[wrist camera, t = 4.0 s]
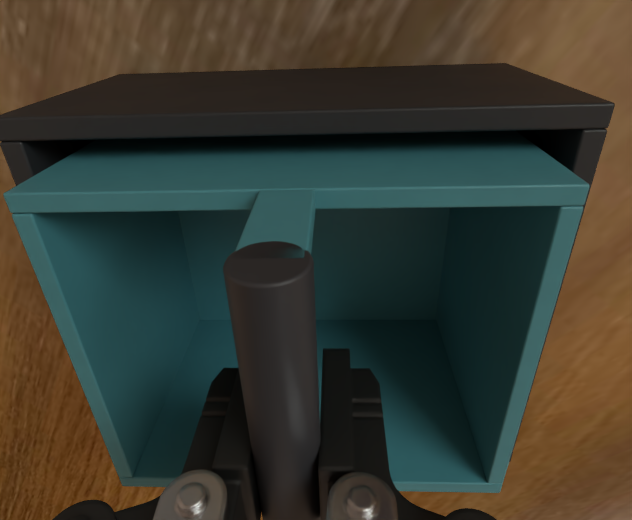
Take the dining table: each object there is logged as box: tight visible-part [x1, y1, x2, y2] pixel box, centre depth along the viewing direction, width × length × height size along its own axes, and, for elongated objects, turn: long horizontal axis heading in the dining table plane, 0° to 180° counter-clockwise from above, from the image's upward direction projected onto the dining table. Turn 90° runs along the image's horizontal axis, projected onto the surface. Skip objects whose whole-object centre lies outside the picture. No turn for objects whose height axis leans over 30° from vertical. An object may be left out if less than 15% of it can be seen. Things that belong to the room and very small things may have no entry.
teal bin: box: [4, 131, 589, 520], centre depth 14 cm, size 13×11×13 cm
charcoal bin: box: [0, 63, 614, 462], centre depth 17 cm, size 15×13×8 cm
